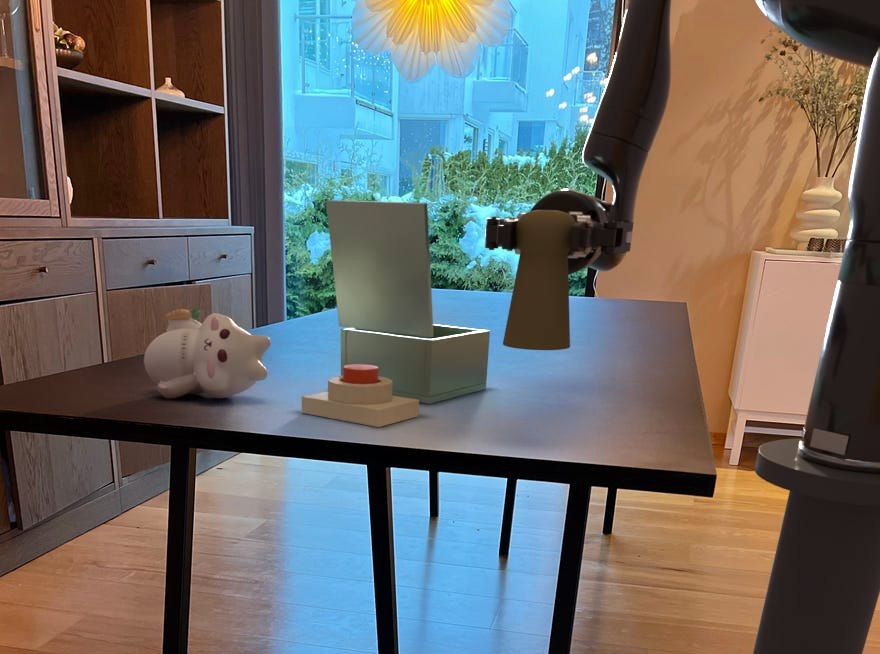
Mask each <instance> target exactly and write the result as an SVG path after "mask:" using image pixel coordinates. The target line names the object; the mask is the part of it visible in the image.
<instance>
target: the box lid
mask: <svg viewBox="0 0 880 654" xmlns="http://www.w3.org/2000/svg"><path fill="white" fill-rule="evenodd" d="M325 205H326V213H327V223H328V224H327V225H328V233H329V242H330V253H331V262H332V263H331V264H332V272H333V280H334V290H335V299H336V310H337V318H338V327H340V328H357V329H365V330H373V331H382V332H390V333H398V334H407V335H415V336H423V337H433V336H434V334H433V324H434V315H433V296H432V295H433V293H432V274H431V255H430V253H431V251H430V235H429V234H430V233H429V231H430V230H429V210H428V202H413V201H412V202H411V201H410V202H409V201H378V200H377V201H374V200H343V199H342V200H341V199H340V200H339V199H328V200H325Z"/></svg>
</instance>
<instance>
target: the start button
mask: <svg viewBox="0 0 880 654" xmlns="http://www.w3.org/2000/svg"><path fill="white" fill-rule="evenodd" d="M343 382H345V383H352V384H374V383H378V367H377V366H374V365H366V364H351V365H345V366H343Z"/></svg>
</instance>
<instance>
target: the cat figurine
mask: <svg viewBox="0 0 880 654" xmlns="http://www.w3.org/2000/svg"><path fill="white" fill-rule="evenodd" d="M201 313H202V311H201V310H200V308H196V307H194V308H193V309H190V310H188V309H185V308H177V309H174V310H172V311H170V312H168V313H166V314H165V316H164V317H165V319H166V320H167V322H168V326H167V327H166V332H163V333H161V334H159V335H158V336H157V337H155V338H154V339H153V340H152V341H151V342H150V344H148V346H147V348H146V350H145V353H144V356H143V365H144V368H145V371H146V373H147V375H148V377H149V378H150V379H151V380H152V381H153V382H154V383H155V384H157V387H156V388H157V391H158V392H159V393H160V395H162V396H163V398H165V399H176V398H180V397H182V396H183V397H184V396H185V395H204V394H206V395H208V396H209V397H211V398H213V399H226V398H231V397H233V396H236V395H238V394H241V393H244V392H245V391H247V390H249V389H250V388H251V387H253V386H254V385H255V384H256V382H259V381H265V380H266V379H267V378H268V370H267V368H266V367H265V366H264V365H263V357H264V355H265V353H266V352H267V351H268V350H269V348H270V347H271V344H272V341H271V339H270V337H269V336H267V335H263V334H257V335H256V334H251V333H250V332H248V331H247V330H245V329H243V328H242V327H240V326H238V325H237V324H236V323H235V322H234V321H233V320H232V319H231V318H230V317H229V316H227V315H224V314H221V313H217V312H213V313H210V314H209V315H208V316H206V317H205V319H204V320H203V322H202V323H201V322H200V321H198V320H199V319H200V316H201Z"/></svg>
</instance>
